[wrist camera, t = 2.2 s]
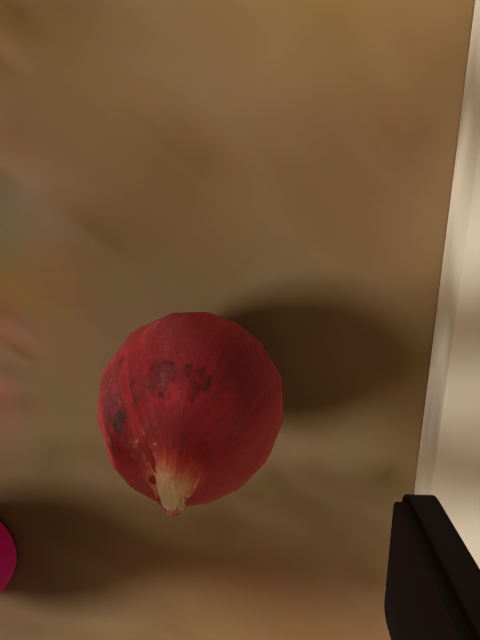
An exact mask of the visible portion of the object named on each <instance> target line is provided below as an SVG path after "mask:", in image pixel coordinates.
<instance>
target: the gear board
mask: <svg viewBox="0 0 480 640" xmlns="http://www.w3.org/2000/svg"><path fill="white" fill-rule="evenodd" d="M414 495H434V496H436V497H437V499H438V500H439V502H440V503H441V505H442V507H443V508H444V510H445V512H446V513H447V515H448V517H449V518H450V520H451V522H452V523H453V525H454V527H455V528H456V530H457V532H458V533H459V535H460V537H461V538H462V540H463V542H464V544H465V545H466V547H467V549H468V550H469V552H470V554H471V555H472V557H473V559H474V560H475V562H476V564H477V565H478V567H479V569H480V0H475V7H474V15H473V23H472V31H471V39H470V47H469V55H468V63H467V71H466V80H465V88H464V96H463V104H462V112H461V120H460V128H459V136H458V144H457V152H456V160H455V168H454V176H453V184H452V192H451V200H450V208H449V216H448V224H447V232H446V240H445V248H444V257H443V265H442V273H441V281H440V289H439V297H438V305H437V313H436V321H435V329H434V337H433V345H432V353H431V361H430V369H429V377H428V385H427V393H426V401H425V409H424V417H423V425H422V433H421V442H420V450H419V458H418V466H417V474H416V482H415V490H414Z"/></svg>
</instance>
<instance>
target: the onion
mask: <svg viewBox="0 0 480 640" xmlns="http://www.w3.org/2000/svg"><path fill="white" fill-rule="evenodd" d="M283 411H284V409H283V396H282V383H281V375H280V374H279V372H278V370H277V369H276V367H275V365H274V364H273V362H272V360H271V359H270V357H269V355H268V354H267V352H266V350H265V349H264V347H263V345H262V344H261V342H260V341H259V340H258V339H257V338H255V337H254V336H253V335H252V334H250V333H249V332H248V331H247V330H246V329H244V328H243V327H242V326H241V325H239V324H238V323H237V322H234V321H231V320H229V319H226V318H223V317H220V316H217V315H214V314H211V313H208V312H191V313H172V314H170V315H167V316H165V317H163V318H161V319H158V320H156V321H154V322H152V323H149V324H147V325H145V326H143V327H141V328H139V329H137V330H136V331H134V332H132V333H131V334H130V335H129V337H128V338H127V339H126V341H125V342H124V343H123V344H122V346H121V347H120V348H119V350H118V351H117V352H116V354H115V355H114V356H113V358H112V359H111V360H110V362H109V363H108V365H107V367H106V369H105V371H104V372H103V374H102V379H101V387H100V396H99V405H98V424H99V426H100V429H101V432H102V435H103V438H104V441H105V445H106V449H107V453H108V456H109V460H110V462H111V464H112V465H113V467H114V468H115V470H116V471H117V472H118V473H119V474H120V475H121V476H122V478H123V479H124V480H125V481H126V482H127V483H128V484H129V485H130V487H132V488H133V489H135V490H136V491H138V492H140V493H142V494H144V495H145V496H147V497H149V498H151V499H153V500H155V501H157V502H158V503H159V505H160V506H161V508H162V509H163V511H164V512H165V513H166V514H167V515H168V516H169V515H178V514H180V513H181V512H182V511H183V510H185V509H186V506H190V505H198V504H207V503H210V502H213V501H215V500H217V499H219V498H221V497H223V496H225V495H227V494H229V493H231V492H233V491H235V490H237V489H239V488H240V487H241V486H243V485H244V484H245V483H246V482H247V481H248V480H249V479H250V478H251V477H252V476H253V475H254V474H255V473H256V472H257V471H258V470H259V468H260V467H261V466H262V465H263V464H264V463H265V462H266V460H267V458H268V457H269V455H270V453H271V451H272V448H273V445H274V443H275V440H276V438H277V435H278V432H279V430H280V427H281V425H282V422H283Z"/></svg>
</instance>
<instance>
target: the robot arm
mask: <svg viewBox="0 0 480 640" xmlns="http://www.w3.org/2000/svg"><path fill="white" fill-rule="evenodd" d="M384 607H385V617H386V622H387V626H388V630H389V633H390V637H391V640H480V569H479V567H478V565H477V564H476V562H475V560H474V559H473V557H472V555H471V554H470V552H469V550H468V549H467V547H466V545H465V544H464V542H463V540H462V538H461V537H460V535H459V533H458V532H457V530H456V528H455V527H454V525H453V523H452V522H451V520H450V518H449V517H448V515H447V513H446V512H445V510H444V508H443V507H442V505H441V503H440V502H439V500H438V499H437V497H436V496H434V495H413V494H406V495H404V497H403V500H402V502H395V504H394V508H393V518H392V529H391V539H390V550H389V560H388V571H387V582H386V592H385V605H384Z"/></svg>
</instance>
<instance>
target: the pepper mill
mask: <svg viewBox="0 0 480 640" xmlns="http://www.w3.org/2000/svg"><path fill="white" fill-rule="evenodd" d="M16 562H17V552H16V548H15V544H14V541H13V538H12V536H11V535H10V533H9V531H8V530H7V528H6V527H5V526H4V525H3V523H2V522H1V521H0V594H1V592H2V591H3V589H4V588H5V586H6V585H7V583H8V582H9V580H10V579H11V577H12V575H13V573H14V570H15V568H16Z"/></svg>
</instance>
